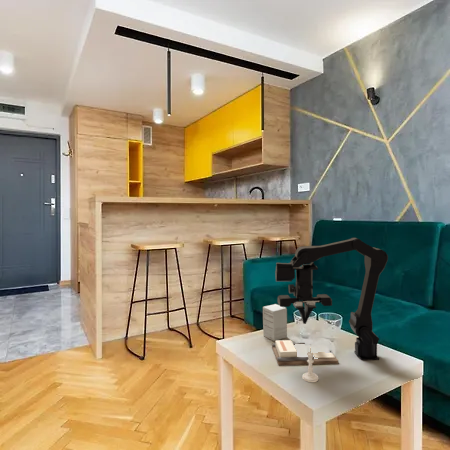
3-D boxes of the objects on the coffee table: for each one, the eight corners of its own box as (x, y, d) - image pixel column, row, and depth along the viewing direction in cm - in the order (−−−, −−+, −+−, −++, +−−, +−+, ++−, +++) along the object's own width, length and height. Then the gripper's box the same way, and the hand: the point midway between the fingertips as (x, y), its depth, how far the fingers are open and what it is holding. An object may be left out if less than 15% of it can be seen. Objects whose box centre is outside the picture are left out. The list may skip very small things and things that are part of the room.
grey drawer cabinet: (276, 331, 145) (275, 303, 144) (287, 337, 138) (287, 307, 138) (262, 335, 141) (262, 306, 140) (273, 341, 135) (273, 311, 134)
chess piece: (318, 375, 107) (317, 345, 107) (318, 383, 103) (318, 351, 102) (302, 373, 108) (302, 343, 108) (302, 381, 104) (302, 350, 103)
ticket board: (325, 346, 129) (325, 341, 129) (338, 363, 115) (338, 357, 115) (272, 347, 129) (271, 342, 128) (278, 365, 115) (278, 359, 115)
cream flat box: (291, 346, 127) (291, 339, 126) (297, 358, 117) (297, 351, 116) (275, 346, 127) (275, 340, 126) (280, 358, 117) (280, 351, 116)
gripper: (322, 276, 128) (323, 315, 129) (275, 277, 128) (275, 316, 129) (332, 282, 117) (332, 326, 118) (280, 283, 117) (280, 327, 118)
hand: (304, 323), depth 121 cm, fingers closed
